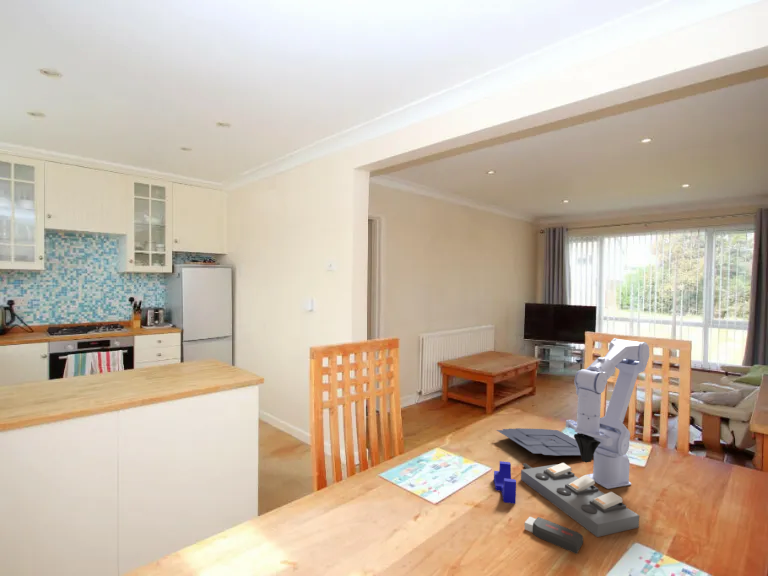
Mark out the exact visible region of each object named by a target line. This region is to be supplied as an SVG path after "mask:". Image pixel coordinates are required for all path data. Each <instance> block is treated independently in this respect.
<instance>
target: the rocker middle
mask: <svg viewBox="0 0 768 576" xmlns="http://www.w3.org/2000/svg"><path fill="white" fill-rule="evenodd" d="M586 475H587V474H584V475H582V476H580V477H578V479H577V480H575V481H573V482H571V483H570V484H569V486H570V487H571V488H573V489H574V490H576V491H577V492H578V491H583V490H585V489H587V488H588V487H590V486H592V485H595V484H596V482H595V481H594V480H593V479H591V478H590V477H588V476H586Z"/></svg>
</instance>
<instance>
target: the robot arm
mask: <svg viewBox="0 0 768 576" xmlns="http://www.w3.org/2000/svg"><path fill="white" fill-rule="evenodd" d="M649 358H650V347H649V344H648V343H647V342H646V341H636V340H626V339H621V338H616V337H614V338H612V340H611V341H610V343H609V345H608V352H606V354H605V355H604V356H598V357H597V358H596V359H595V360H594V361H593V362H592V363H591V364H590V365H588V367H586V368H585V369H584V368H582V369H579V370H578V371H576V373H575V376H574V380H573V381H574V382H573V383H574V384H573V385H574V386H575V394H576V395H577V410H576V412H577V413H576V414H577V415H576V421H575V420H573V419H565V427H566V428H569V429H573V430H574V432H576V433H575V434H573V439H575V440H576V442H577V444H578V447H579V450H580V454H581V455H580V459H581V461H582V462H584V463H585V464H587V463H591V462H592V459H593V466H592V468H593V470H592V473H589V474H585V475H586V476H588V477H590V478H591V479H593V480H594V481H595V484H598V485H600V486H601V487H604V488H605V489H607V490H610V489H615V488H621V487H626V486H631V485H632V482H631V481H629V480H630V458H629V456H628V455H627V453H628V450H629V447H630V441H631V439H630V438H631V433H630V430H629V429H628V428H627V426H626V425H625V424H624V420H625V417H626V414H627V411H628V408H629V404H630V400H631V398H632V395H633V391H634V388H635V385H636V381H637V379H638V376H639V374H640V373H643V372H645V371H646V368H647V365H648V362H649ZM616 369H617V370H618V371H619V372H618V376H617V378H616V381H615V385H614V387H613V391H612V393H611V396H610V399H609V402H608V406H607V408H606V411H605V415H604V416H603V417H601V404H602V401H601V399H602V393H603V392H604V391H605V389H606V385H608V381H609V379H610V378H611V377H612V376H613V375H614V374H615V372H616ZM593 454H594V455H593Z"/></svg>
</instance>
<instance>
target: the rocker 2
mask: <svg viewBox="0 0 768 576" xmlns="http://www.w3.org/2000/svg"><path fill="white" fill-rule="evenodd" d="M593 500H594V503H595V504H597V505H598V506H600V507H601V508H603V509H607V508H609V507H611V506H614V505H616V504H618V503H623V497H621V496H620V495H618V494H616V492H615V493H614V492H613V491H609V492H607V493H604V495H602V496H599V497H597V498H594V499H593Z"/></svg>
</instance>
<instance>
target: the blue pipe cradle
mask: <svg viewBox="0 0 768 576" xmlns="http://www.w3.org/2000/svg"><path fill="white" fill-rule="evenodd" d="M498 466H499V470H494V471H493V482H494V489H495V491H497V492H498V491H499V492H501V496H502V500H503V503H507V504H516V502H517V501H516V499H517V497H516V494H517V481H516V479H514V478H512V469H511V467H512V465H511V462H509V461H500V460H499V465H498Z"/></svg>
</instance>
